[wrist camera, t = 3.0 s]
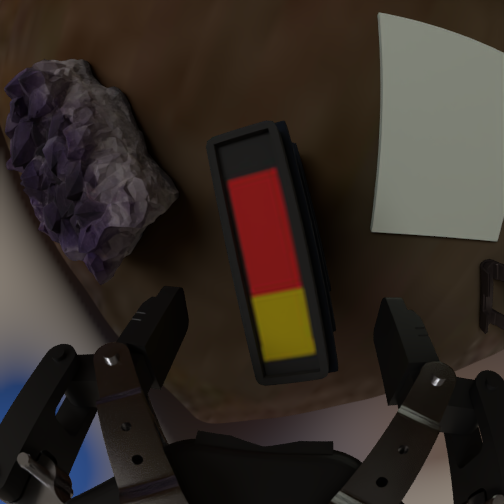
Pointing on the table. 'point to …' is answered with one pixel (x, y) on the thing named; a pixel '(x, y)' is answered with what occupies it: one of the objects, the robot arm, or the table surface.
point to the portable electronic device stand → (490, 294)
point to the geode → (83, 163)
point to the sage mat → (439, 133)
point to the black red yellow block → (274, 253)
